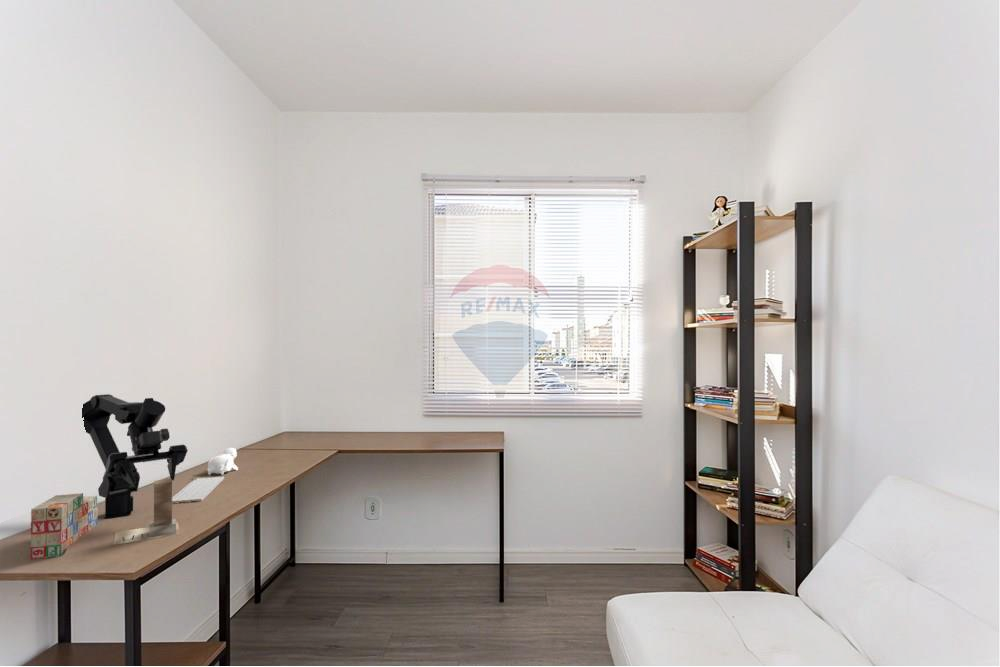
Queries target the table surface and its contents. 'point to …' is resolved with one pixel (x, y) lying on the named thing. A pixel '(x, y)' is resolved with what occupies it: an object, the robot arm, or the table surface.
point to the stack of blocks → (61, 523)
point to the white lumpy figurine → (223, 462)
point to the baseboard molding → (197, 489)
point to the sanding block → (162, 510)
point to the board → (136, 535)
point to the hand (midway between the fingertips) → (154, 482)
